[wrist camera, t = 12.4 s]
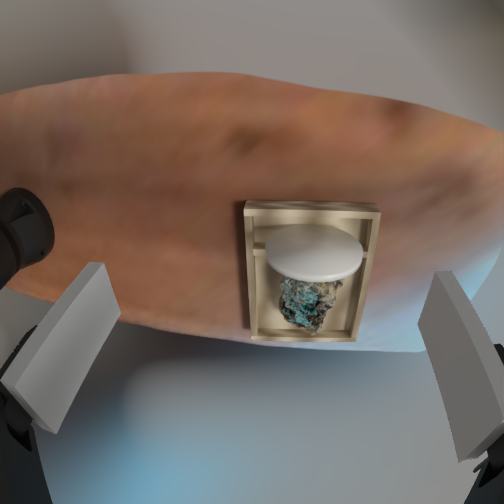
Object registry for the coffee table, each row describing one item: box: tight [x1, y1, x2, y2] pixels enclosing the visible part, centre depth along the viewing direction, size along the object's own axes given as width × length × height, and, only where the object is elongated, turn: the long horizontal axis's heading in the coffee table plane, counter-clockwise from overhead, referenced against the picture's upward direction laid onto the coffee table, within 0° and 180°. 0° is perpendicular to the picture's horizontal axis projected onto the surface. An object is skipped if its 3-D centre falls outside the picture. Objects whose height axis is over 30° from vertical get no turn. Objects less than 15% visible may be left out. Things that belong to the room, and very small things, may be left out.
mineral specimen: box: [279, 275, 345, 335], centre depth 47 cm, size 12×9×8 cm
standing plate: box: [265, 224, 363, 282], centre depth 39 cm, size 12×1×12 cm, turn 92°
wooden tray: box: [244, 200, 381, 342], centre depth 48 cm, size 18×24×3 cm
